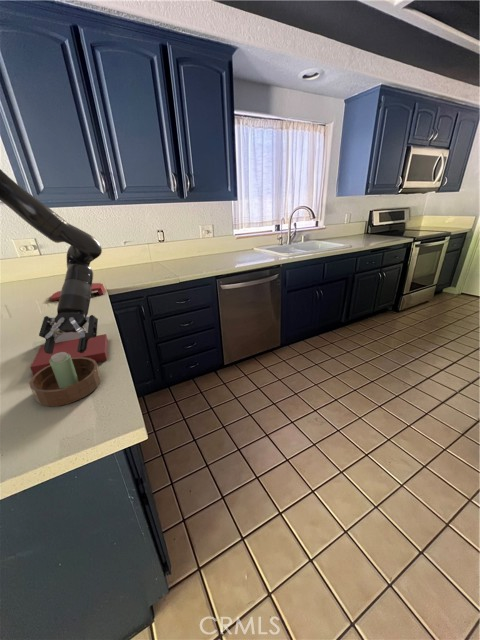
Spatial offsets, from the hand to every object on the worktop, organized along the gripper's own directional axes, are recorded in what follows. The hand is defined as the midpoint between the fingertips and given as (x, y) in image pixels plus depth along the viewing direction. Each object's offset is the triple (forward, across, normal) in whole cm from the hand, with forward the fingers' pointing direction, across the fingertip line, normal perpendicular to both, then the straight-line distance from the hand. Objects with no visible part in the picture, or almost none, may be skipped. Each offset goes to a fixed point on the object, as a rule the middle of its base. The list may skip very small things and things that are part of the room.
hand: (64, 352), depth 71 cm
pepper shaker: (+8, 0, +5) cm, 10 cm away
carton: (-48, -38, +62) cm, 88 cm away
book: (-3, -7, +17) cm, 19 cm away
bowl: (+9, 0, +5) cm, 10 cm away
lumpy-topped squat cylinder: (-12, -15, +27) cm, 33 cm away
